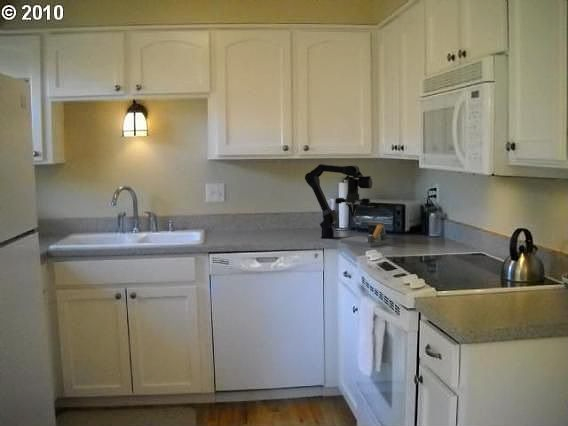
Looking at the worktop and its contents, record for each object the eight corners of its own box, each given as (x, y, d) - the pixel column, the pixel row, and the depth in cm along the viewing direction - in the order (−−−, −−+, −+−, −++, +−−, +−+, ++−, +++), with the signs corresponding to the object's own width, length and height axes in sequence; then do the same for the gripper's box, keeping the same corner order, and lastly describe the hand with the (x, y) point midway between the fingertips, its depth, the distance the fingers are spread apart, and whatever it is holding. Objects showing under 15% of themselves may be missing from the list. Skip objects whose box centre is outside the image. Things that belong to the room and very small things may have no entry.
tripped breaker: (370, 239, 295) (376, 224, 291) (374, 238, 298) (381, 224, 294) (372, 241, 294) (379, 226, 290) (377, 240, 297) (384, 226, 293)
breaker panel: (340, 242, 303) (340, 232, 302) (357, 239, 313) (357, 229, 313) (370, 247, 289) (370, 236, 288) (387, 243, 299) (387, 233, 299)
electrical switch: (385, 237, 319) (385, 221, 317) (382, 239, 315) (381, 223, 313) (370, 236, 324) (370, 220, 322) (366, 238, 320) (366, 222, 318)
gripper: (333, 189, 304) (333, 217, 306) (368, 189, 299) (367, 218, 301) (337, 187, 315) (337, 215, 317) (370, 187, 310) (370, 216, 312)
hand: (352, 216), depth 311 cm, fingers closed
